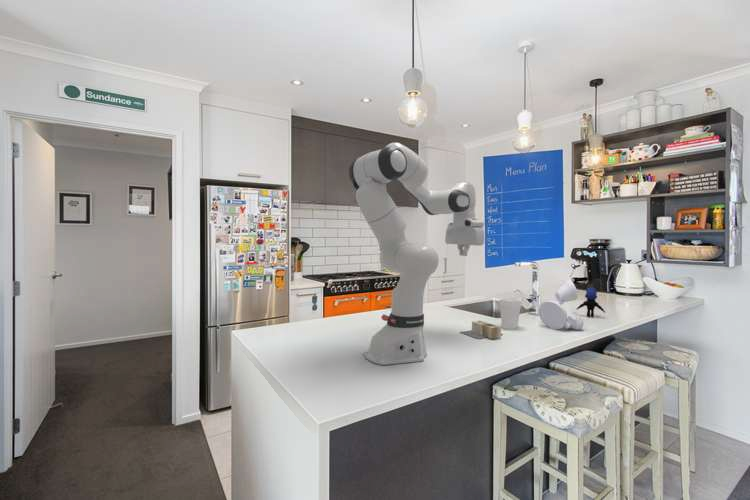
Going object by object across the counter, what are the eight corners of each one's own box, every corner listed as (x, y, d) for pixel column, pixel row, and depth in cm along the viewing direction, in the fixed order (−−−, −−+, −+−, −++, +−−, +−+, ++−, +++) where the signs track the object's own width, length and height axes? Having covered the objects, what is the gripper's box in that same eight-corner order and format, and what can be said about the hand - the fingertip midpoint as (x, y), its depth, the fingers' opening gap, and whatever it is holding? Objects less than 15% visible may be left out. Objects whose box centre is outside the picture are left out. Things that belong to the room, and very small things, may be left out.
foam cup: (522, 331, 164) (523, 301, 163) (500, 329, 166) (500, 300, 165) (518, 325, 173) (519, 297, 173) (497, 324, 175) (498, 296, 175)
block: (493, 327, 150) (471, 321, 160) (492, 339, 150) (471, 331, 161) (501, 326, 152) (479, 320, 163) (500, 337, 152) (479, 330, 163)
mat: (477, 339, 151) (477, 338, 151) (459, 332, 160) (459, 332, 160) (503, 335, 157) (503, 334, 157) (483, 328, 167) (483, 328, 167)
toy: (605, 317, 192) (606, 288, 191) (605, 319, 187) (606, 289, 186) (576, 314, 199) (577, 285, 198) (575, 316, 194) (576, 287, 193)
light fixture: (607, 304, 162) (572, 275, 172) (589, 316, 153) (553, 285, 163) (575, 338, 178) (545, 310, 188) (556, 350, 170) (526, 320, 180)
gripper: (442, 222, 163) (441, 254, 164) (475, 221, 145) (474, 257, 146) (453, 222, 166) (452, 254, 167) (487, 222, 148) (486, 257, 149)
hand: (463, 255), depth 156 cm, fingers closed
